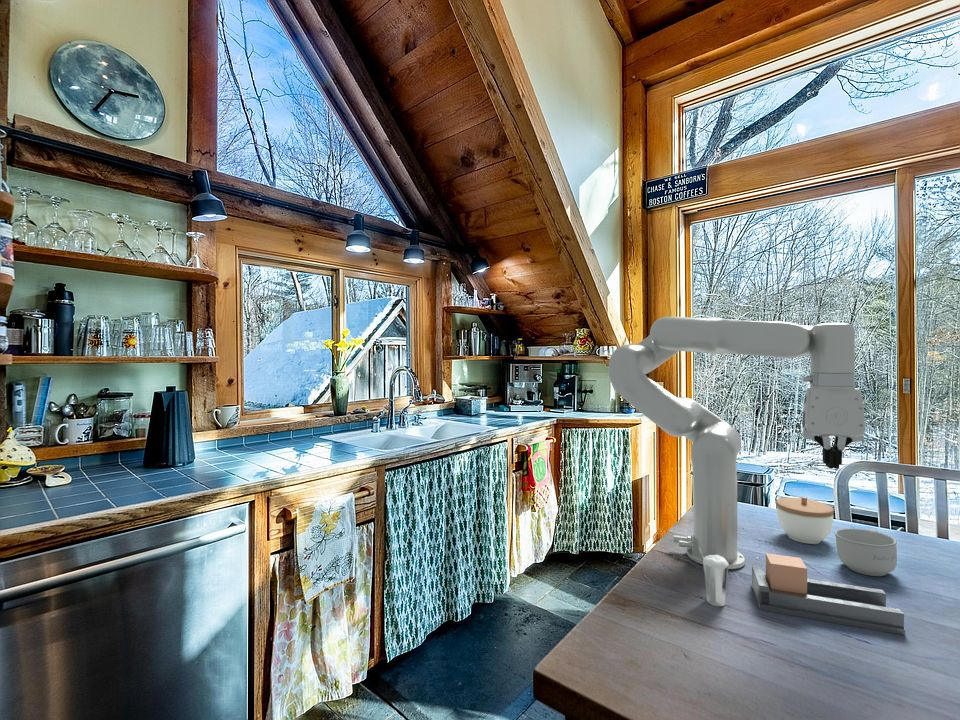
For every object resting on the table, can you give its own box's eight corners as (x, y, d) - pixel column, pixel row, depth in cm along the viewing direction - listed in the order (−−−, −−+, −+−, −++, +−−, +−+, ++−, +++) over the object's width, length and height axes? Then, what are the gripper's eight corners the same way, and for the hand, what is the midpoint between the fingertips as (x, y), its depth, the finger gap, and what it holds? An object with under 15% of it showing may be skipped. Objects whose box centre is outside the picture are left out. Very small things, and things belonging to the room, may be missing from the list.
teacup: (882, 586, 98) (882, 548, 98) (825, 565, 108) (825, 531, 108) (912, 571, 104) (912, 536, 104) (855, 553, 114) (855, 521, 114)
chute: (759, 609, 89) (759, 586, 89) (751, 585, 98) (751, 564, 98) (905, 635, 81) (905, 609, 81) (881, 606, 90) (881, 583, 90)
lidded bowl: (767, 528, 130) (767, 489, 130) (816, 530, 129) (816, 491, 129) (791, 547, 118) (791, 504, 118) (845, 549, 116) (845, 506, 116)
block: (770, 598, 91) (770, 563, 91) (765, 587, 95) (765, 553, 95) (807, 605, 88) (807, 568, 88) (800, 592, 93) (800, 557, 93)
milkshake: (703, 592, 96) (703, 544, 96) (731, 602, 92) (731, 552, 92) (695, 600, 93) (695, 551, 93) (724, 611, 89) (723, 559, 89)
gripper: (794, 381, 98) (795, 468, 98) (883, 383, 92) (883, 474, 92) (786, 380, 105) (786, 460, 105) (868, 381, 99) (868, 466, 99)
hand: (832, 467), depth 99 cm, fingers closed
